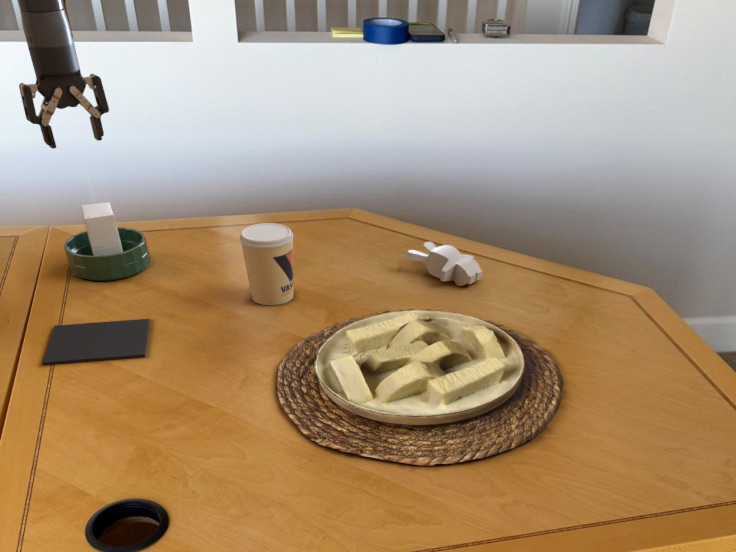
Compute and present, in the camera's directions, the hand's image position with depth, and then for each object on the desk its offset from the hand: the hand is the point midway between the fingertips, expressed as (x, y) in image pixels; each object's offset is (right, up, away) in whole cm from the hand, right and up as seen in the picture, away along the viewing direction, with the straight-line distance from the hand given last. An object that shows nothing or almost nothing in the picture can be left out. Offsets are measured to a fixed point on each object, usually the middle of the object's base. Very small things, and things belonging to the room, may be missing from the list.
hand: (75, 143), depth 143 cm
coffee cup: (+36, -28, +2) cm, 46 cm away
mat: (+9, -40, -12) cm, 42 cm away
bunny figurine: (+69, -21, +9) cm, 73 cm away
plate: (+63, -48, -20) cm, 82 cm away
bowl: (+2, -19, +11) cm, 22 cm away
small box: (+2, -19, +11) cm, 22 cm away
